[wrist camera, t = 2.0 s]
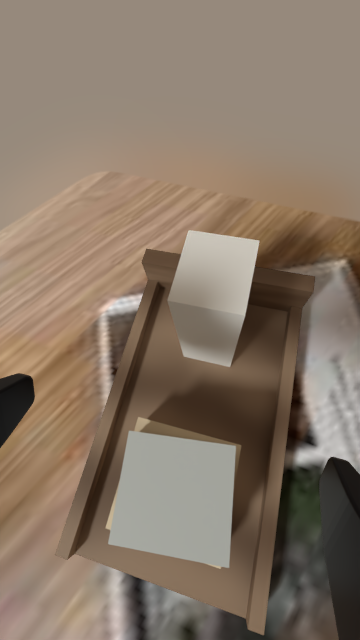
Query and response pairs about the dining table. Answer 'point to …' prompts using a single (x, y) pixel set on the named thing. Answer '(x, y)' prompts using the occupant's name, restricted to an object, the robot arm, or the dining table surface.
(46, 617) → the dining table surface
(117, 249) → the dining table surface
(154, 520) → the grey offcut
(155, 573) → the walnut tray
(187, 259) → the tall board
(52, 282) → the dining table surface
